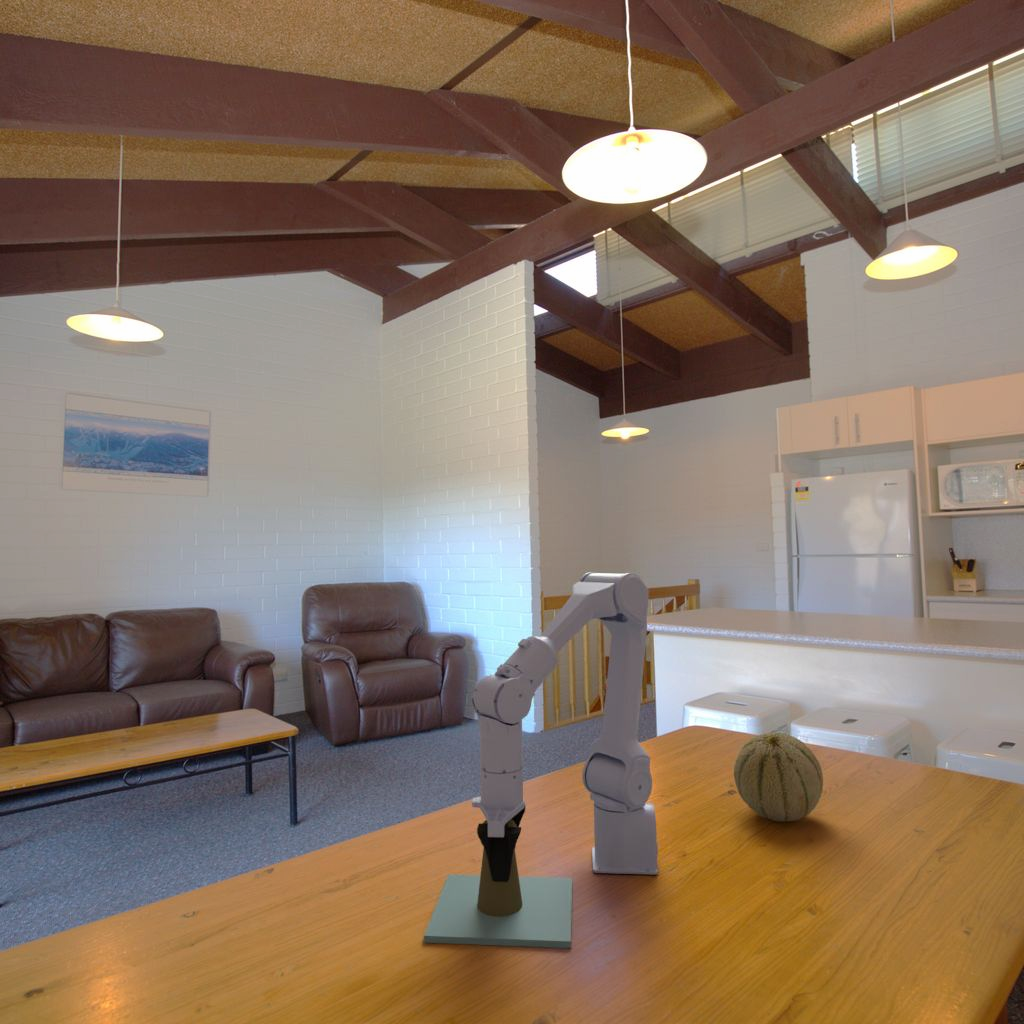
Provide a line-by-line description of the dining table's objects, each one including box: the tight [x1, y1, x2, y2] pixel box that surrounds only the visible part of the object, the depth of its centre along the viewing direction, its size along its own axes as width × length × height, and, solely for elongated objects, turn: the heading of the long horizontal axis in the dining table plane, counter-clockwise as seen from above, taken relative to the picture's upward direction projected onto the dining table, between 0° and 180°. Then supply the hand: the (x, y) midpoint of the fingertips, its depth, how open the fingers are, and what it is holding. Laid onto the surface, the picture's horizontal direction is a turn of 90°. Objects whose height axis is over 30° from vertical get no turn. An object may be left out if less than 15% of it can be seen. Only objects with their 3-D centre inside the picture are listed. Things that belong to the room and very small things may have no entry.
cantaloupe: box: [733, 732, 824, 823], centre depth 122 cm, size 15×15×15 cm
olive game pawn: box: [477, 819, 522, 917], centre depth 92 cm, size 6×6×11 cm
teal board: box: [423, 873, 573, 949], centre depth 92 cm, size 18×16×1 cm
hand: (503, 870), depth 92 cm, fingers closed on olive game pawn, 5 cm apart
